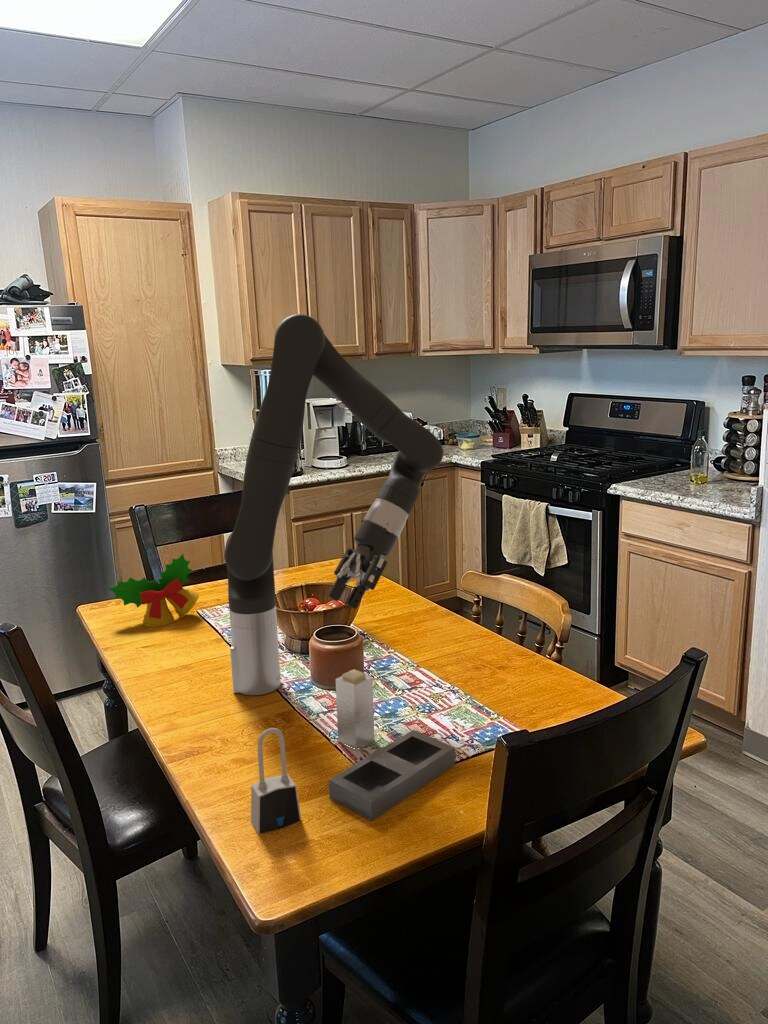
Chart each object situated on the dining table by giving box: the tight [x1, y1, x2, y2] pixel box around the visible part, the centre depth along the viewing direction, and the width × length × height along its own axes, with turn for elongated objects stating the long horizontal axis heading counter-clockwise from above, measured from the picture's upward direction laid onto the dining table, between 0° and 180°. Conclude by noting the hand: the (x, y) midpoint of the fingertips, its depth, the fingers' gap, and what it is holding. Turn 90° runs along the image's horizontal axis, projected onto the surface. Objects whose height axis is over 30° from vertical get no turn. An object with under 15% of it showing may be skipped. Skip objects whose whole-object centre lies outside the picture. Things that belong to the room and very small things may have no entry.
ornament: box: [108, 553, 200, 628], centre depth 196 cm, size 21×8×15 cm, turn 108°
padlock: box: [250, 727, 302, 835], centre depth 114 cm, size 7×4×15 cm, turn 117°
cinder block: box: [328, 729, 456, 822], centre depth 124 cm, size 20×9×3 cm, turn 137°
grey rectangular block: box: [334, 668, 375, 749], centre depth 136 cm, size 4×4×13 cm
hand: (341, 602), depth 146 cm, fingers open, 8 cm apart
